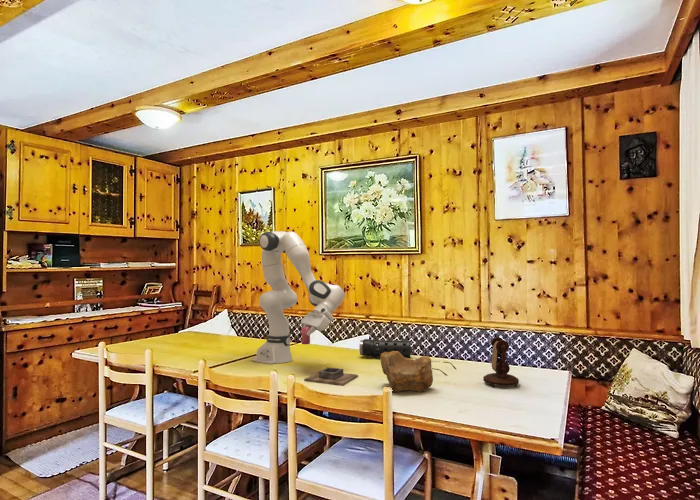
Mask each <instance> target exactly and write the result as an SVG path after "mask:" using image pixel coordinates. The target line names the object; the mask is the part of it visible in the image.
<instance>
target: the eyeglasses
mask: <svg viewBox="0 0 700 500" xmlns="http://www.w3.org/2000/svg"><path fill="white" fill-rule="evenodd" d="M433 362H434V363H439V361H437V360H431V363H433ZM443 363H445V364H450V365H451V366H452V367H453V368H454V370H457V368H456V366H454V365H453V363H452V362H448V361H443ZM431 369H432V370H435V371H440V372H441V373H442V374H444V375H445V376H449V375H448V374H447V373H445V372H444V371H442V370H441V369H439V368H433V367H431Z"/></svg>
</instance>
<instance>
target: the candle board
mask: <svg viewBox="0 0 700 500" xmlns="http://www.w3.org/2000/svg"><path fill="white" fill-rule="evenodd" d="M357 378H359V375H358V374H354V373H345V372H344V368H335V367H326V368H324V369H321V370H320V371H319V370H318V371H317V372H315V373H313V374H311V375H309V376H307V377H305V378H303V380H304V382H310V383H318V384H325V385H326V384H327V385H332V386H333V385H335V386H342V387H343V386H345V385H347V384H349V383H350V382H352V381H354V380H355V379H357Z"/></svg>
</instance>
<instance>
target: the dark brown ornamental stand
mask: <svg viewBox="0 0 700 500" xmlns="http://www.w3.org/2000/svg"><path fill="white" fill-rule="evenodd" d="M491 347H492V351H491V369H492V370H493V371H494V372H493V373H487V374H485V375H483V379H482V380H483V381H484V383H487V384H490V385H491V387H492V388H495V386H502V387H503V386H504V387H509V386H510V387H511V386H514V388H517V386H518V384H519V383H520V379H519V378H518V377H516V376H514V375H512V374H509V372H510V370H511V369H510V365H509V363H508V362H507V356H506V355H507V354H506V353H507V352H508V351H509V349H510V344H509V342H508V341H507V340H504V339H503V338H501V337H499V336H496V337H494V338H493V339H492V341H491Z"/></svg>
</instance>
